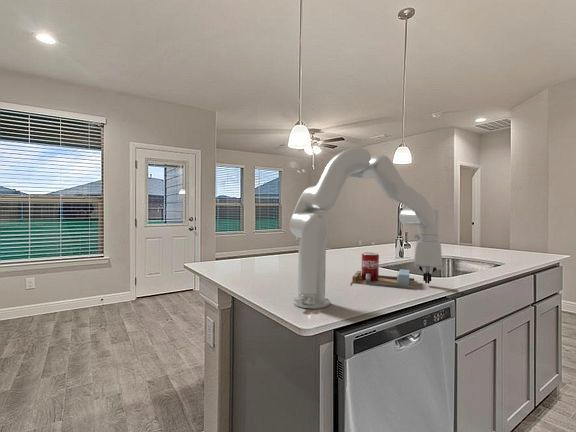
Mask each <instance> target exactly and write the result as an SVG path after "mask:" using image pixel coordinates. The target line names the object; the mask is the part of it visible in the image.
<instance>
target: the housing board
mask: <svg viewBox="0 0 576 432" xmlns="http://www.w3.org/2000/svg"><path fill="white" fill-rule="evenodd" d="M361 275H362V270H357V271H356V272H355V273H354V274H353V276H352V278H351V279H352V281H351V282H350V286H352V285H362V286H371V287H372V286H373V287H382V288H383V287H384V288H393V289H402V290H403V289H404V290H411V291H417V288H418V287H417V280H415V278H413V277H409V286H403V285H398V284H397V276H391V275H380V274H379V279H378V281H377V282H371V274H366V282H365V281H363V280H362V279H361Z"/></svg>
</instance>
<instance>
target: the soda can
mask: <svg viewBox="0 0 576 432" xmlns="http://www.w3.org/2000/svg"><path fill="white" fill-rule="evenodd" d="M379 267H380V255H379V253H377V252H369V251H368V252H363V253H361V279H362V280H363V281H365V282H366V274H371V282H377V281H378V279H379V275H380V274H379V273H380V271H379V269H380V268H379Z"/></svg>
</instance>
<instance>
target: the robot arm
mask: <svg viewBox="0 0 576 432" xmlns="http://www.w3.org/2000/svg"><path fill="white" fill-rule="evenodd" d="M349 177H351V178H357V179H365V180H367V179H374V180H375V182H376V183H377V184H378V185H379V187H380V189H381V190H382V191H383V193H384V195H385V196H386V197H387V198H389V199H391V200H392V201H395V202H398V203H400V204H403V205H404V206H406V208H404V209H402V210H401V211H400V212H399V216H398V219H399V221H400V223H401V224H403V225H404V226H408V227H412V228H413V227H416V228H418V233H417V234H415V235H414V239H416V242H415V245H414V246H415V247H414V258H413V260H414V263H413V268H415V269H419V270H420V271H421V273H423V275H422V276H423V277H422V279H423V281H424V283H425V284H430V282H432V275H433V273H434V272H436V271H439V270H443V266H442V261H443V259H442V257H443V256H442V254H443V253H442V244H441V242H440V241H439V224H440V221H439V220H440V211H439V209H438V208H433V207H432V205H431V204H430V202H429V201H428V200H427V198H426V197H425V196H424V195H423V194H421V193H420V192H419V191H417V190H416V189H414V188H413V187H411V186H410V185H408V184H407V183H406V182H405V180H404V178H403V176H402V175H401V174H400V173H399V171H398V170H397V168H396V166H395V165H394V163H393V162H392V160H391V159H390V158H389V157H388V156H387V155H384V154H376V155H372V154H371V152H370V151H369V150H368V149H366V148H364V147H352V148H348V149H345V150H343V151H341V152H339V153H338V154H336V155H334V156H333V158H332V159H330V160H329V162H328V163H327V164H326V166H325V168H324V169H323V171H322V173H321V176H320V178H319V180H318V182H317V184H316V185H311V186H309V187H307V188H306V189H304V191H303V192H302V193H301V194H300V197H299V198H298V201H297V203H296V205H295V207H294V210H293V211H292V214H291V217H290V220H289V226H288V227H289V230H290V232H291V234H292V235H293V236H295V237H297V238H300V240H299V241H300V242H299V245H298V253H297V260H298V263H297V266H298V268H297V278H298V280H297V296H295V297H294V298H293V304H294V305H295V306H297V307H298V308H302V309H312V310H313V309H314V310H316V309H323V308H326V307H329V305H330V304H331V301H330V299H329V298H327V296H326V273H327V272H326V271H327V270H326V264H327V263H326V262H327V259H326V257H327V256H326V254H327V241H328V236H329V223H328V221H327V219H326V218H325V217H324V216H323V215H322V214H319V213H320V212H322V213H324V212H325V213H326V212H330V211H332V210H333V209H334V208H335V206H336V203H337V201H338V199H339V196H340V195H341V192H342V189H343V187H344V184H345V183H346V181H347V179H348V178H349ZM427 267H428V271H427ZM423 281H422V282H423Z"/></svg>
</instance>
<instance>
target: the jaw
mask: <svg viewBox="0 0 576 432" xmlns="http://www.w3.org/2000/svg"><path fill="white" fill-rule="evenodd" d="M396 277H397V284H398V285H403V286H409V278H410V269H399V271H398V272H397V275H396Z"/></svg>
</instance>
